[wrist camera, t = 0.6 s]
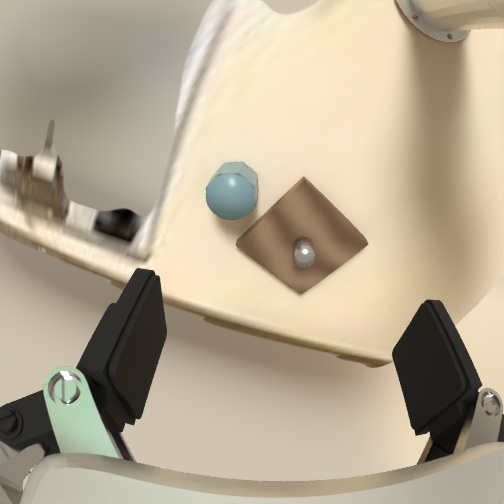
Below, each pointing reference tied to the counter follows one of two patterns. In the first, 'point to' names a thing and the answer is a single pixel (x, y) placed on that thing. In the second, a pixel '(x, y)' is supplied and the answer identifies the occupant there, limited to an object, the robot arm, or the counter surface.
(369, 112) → the counter surface
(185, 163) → the counter surface
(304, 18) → the counter surface
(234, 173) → the cap
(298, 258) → the post
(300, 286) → the brown flat square piece
